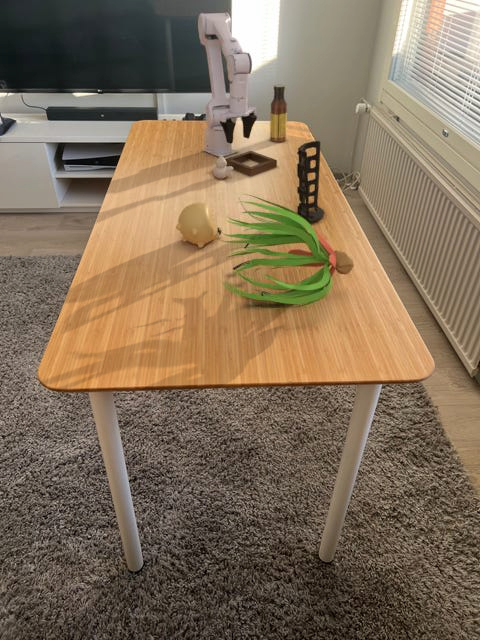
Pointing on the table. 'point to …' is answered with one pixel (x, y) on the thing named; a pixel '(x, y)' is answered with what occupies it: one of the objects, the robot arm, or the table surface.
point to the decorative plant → (289, 256)
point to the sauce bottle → (278, 115)
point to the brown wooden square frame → (264, 165)
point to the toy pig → (198, 224)
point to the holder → (308, 182)
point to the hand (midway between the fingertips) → (238, 140)
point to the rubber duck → (222, 168)
